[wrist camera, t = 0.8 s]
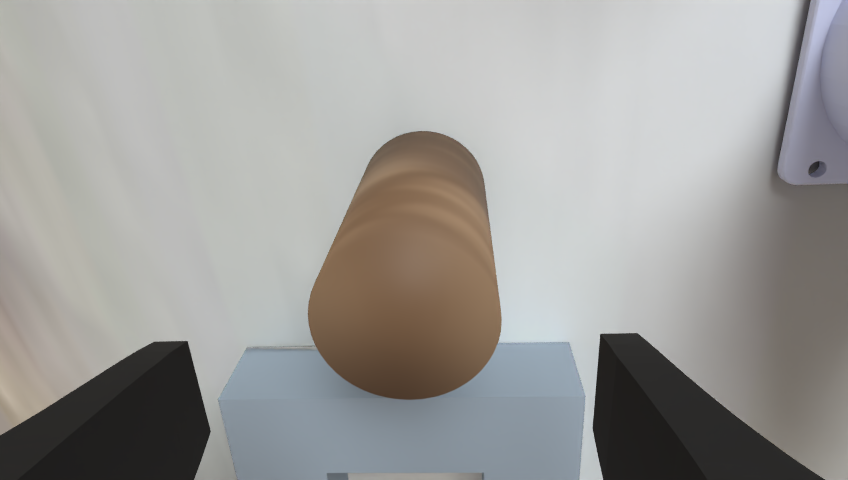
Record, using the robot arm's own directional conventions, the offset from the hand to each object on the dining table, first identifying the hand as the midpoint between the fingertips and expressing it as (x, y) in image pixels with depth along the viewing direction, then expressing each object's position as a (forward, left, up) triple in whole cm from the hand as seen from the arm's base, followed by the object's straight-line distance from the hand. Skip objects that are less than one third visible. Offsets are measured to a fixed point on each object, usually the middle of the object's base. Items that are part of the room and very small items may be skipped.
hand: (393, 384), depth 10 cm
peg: (0, 0, -10) cm, 10 cm away
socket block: (+1, +12, -10) cm, 16 cm away
